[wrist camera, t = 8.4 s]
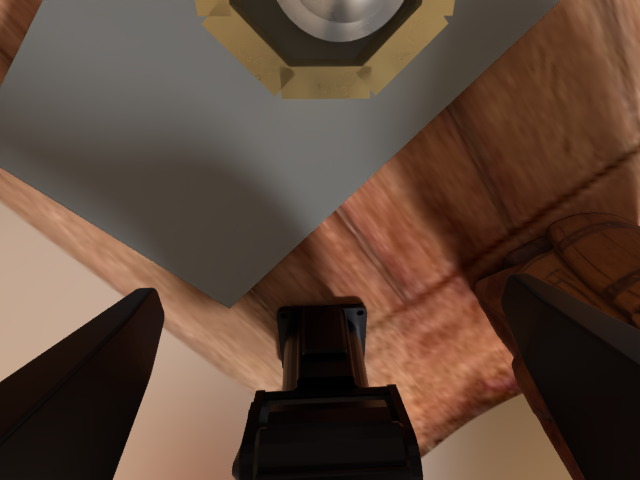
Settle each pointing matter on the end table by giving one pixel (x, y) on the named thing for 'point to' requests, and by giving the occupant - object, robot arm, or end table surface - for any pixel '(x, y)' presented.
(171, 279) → the end table surface
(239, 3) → the brass ring
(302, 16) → the silver calibration weight
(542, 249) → the wooden figurine
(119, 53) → the mat
